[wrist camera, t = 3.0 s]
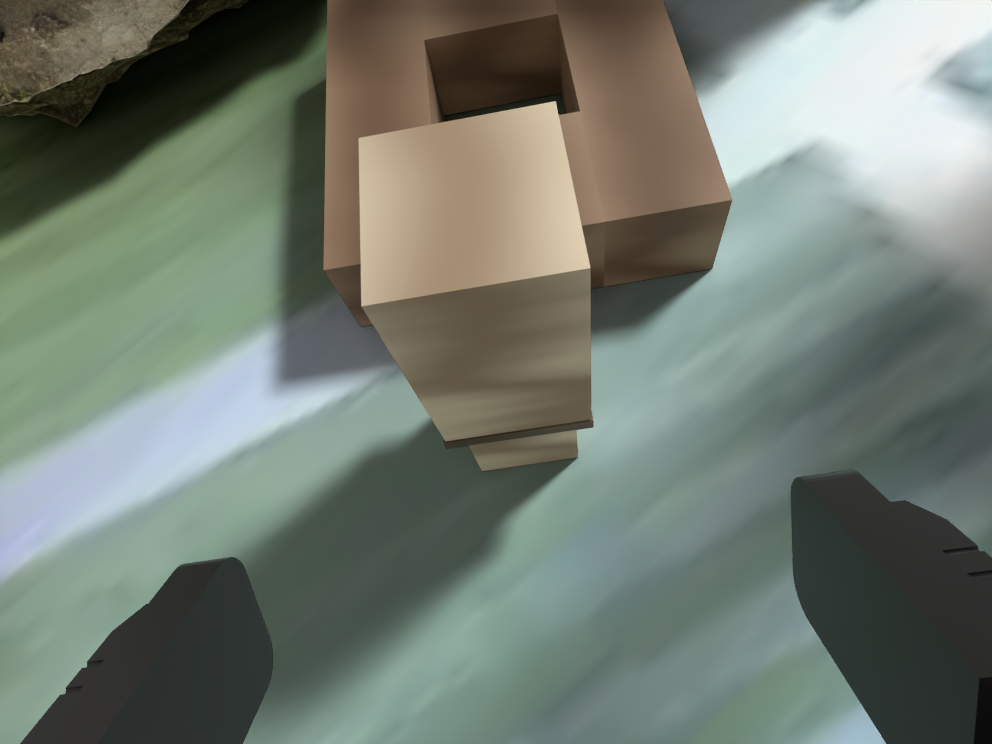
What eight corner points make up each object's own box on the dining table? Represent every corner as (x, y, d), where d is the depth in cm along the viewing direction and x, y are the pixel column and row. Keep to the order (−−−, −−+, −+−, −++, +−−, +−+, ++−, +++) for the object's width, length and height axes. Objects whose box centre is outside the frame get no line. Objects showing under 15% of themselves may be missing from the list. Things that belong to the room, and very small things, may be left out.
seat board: (630, 3, 32) (634, -82, 28) (712, 268, 25) (732, 199, 21) (356, 57, 33) (327, -18, 29) (360, 326, 26) (323, 270, 22)
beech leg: (573, 357, 24) (557, 98, 13) (593, 467, 22) (594, 269, 11) (460, 375, 24) (356, 136, 14) (470, 485, 22) (358, 308, 12)
